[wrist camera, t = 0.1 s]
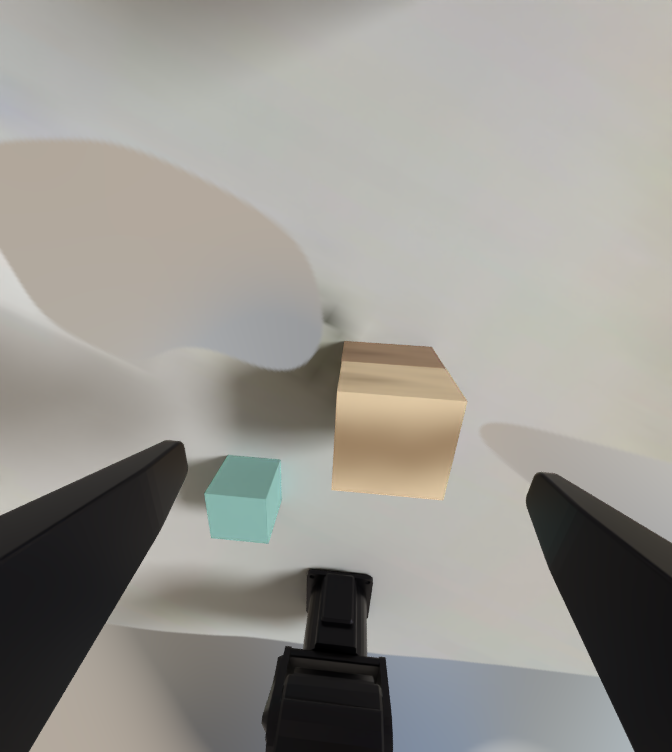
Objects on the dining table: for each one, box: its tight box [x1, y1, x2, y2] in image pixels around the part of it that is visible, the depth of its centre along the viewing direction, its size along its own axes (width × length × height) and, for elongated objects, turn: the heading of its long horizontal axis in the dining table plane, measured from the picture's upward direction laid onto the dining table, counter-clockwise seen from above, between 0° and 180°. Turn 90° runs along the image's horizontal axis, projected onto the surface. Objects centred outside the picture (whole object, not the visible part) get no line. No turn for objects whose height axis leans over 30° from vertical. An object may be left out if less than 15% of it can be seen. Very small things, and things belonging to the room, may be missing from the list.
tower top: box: [332, 361, 467, 500], centre depth 18 cm, size 6×6×4 cm
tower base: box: [341, 341, 445, 369], centre depth 21 cm, size 6×6×4 cm
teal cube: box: [204, 455, 282, 544], centre depth 26 cm, size 4×4×4 cm
